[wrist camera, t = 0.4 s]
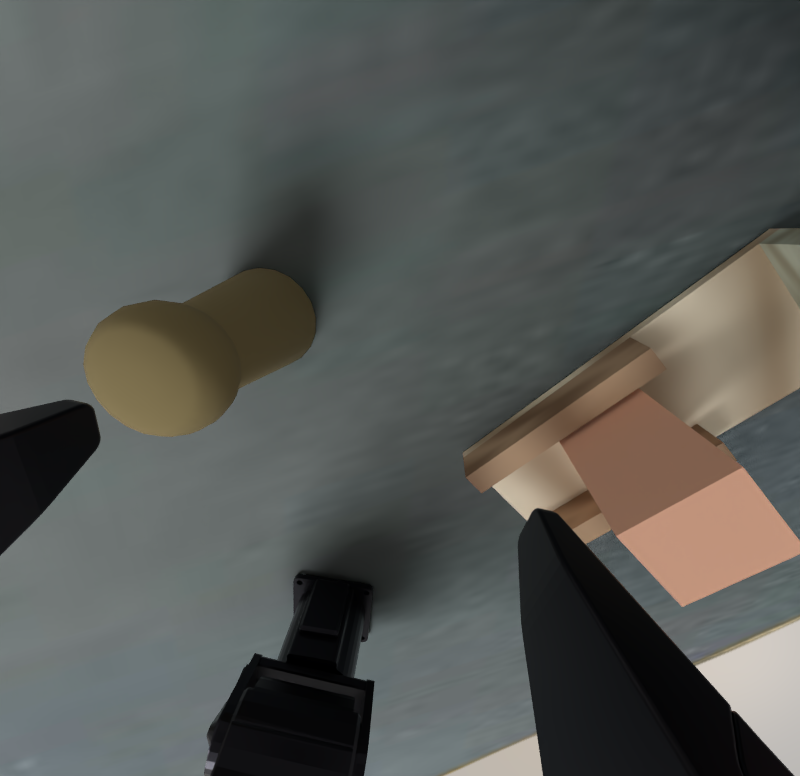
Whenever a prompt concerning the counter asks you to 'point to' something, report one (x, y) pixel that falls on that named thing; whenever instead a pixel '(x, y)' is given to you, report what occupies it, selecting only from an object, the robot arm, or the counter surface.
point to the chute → (660, 379)
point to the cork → (196, 351)
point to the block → (677, 499)
